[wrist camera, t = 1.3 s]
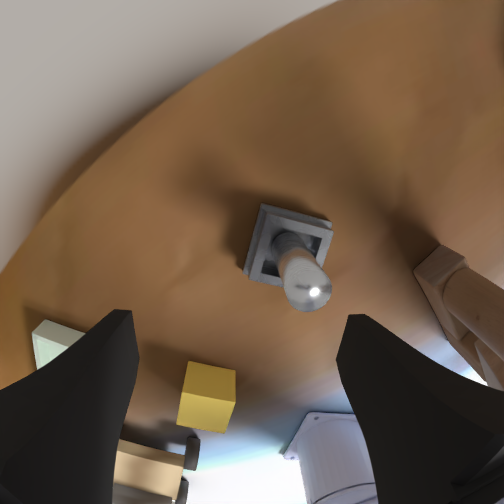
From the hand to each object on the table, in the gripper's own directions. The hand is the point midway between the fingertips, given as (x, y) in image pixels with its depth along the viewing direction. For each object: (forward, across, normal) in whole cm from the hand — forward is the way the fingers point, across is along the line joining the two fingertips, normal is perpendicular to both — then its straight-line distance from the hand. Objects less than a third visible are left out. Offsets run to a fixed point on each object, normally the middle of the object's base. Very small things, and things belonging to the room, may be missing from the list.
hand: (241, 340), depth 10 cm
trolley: (+10, +9, +27) cm, 30 cm away
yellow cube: (+11, +2, +14) cm, 18 cm away
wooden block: (+11, -19, +5) cm, 23 cm away
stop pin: (+11, -4, +1) cm, 12 cm away
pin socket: (+12, -4, +1) cm, 13 cm away
